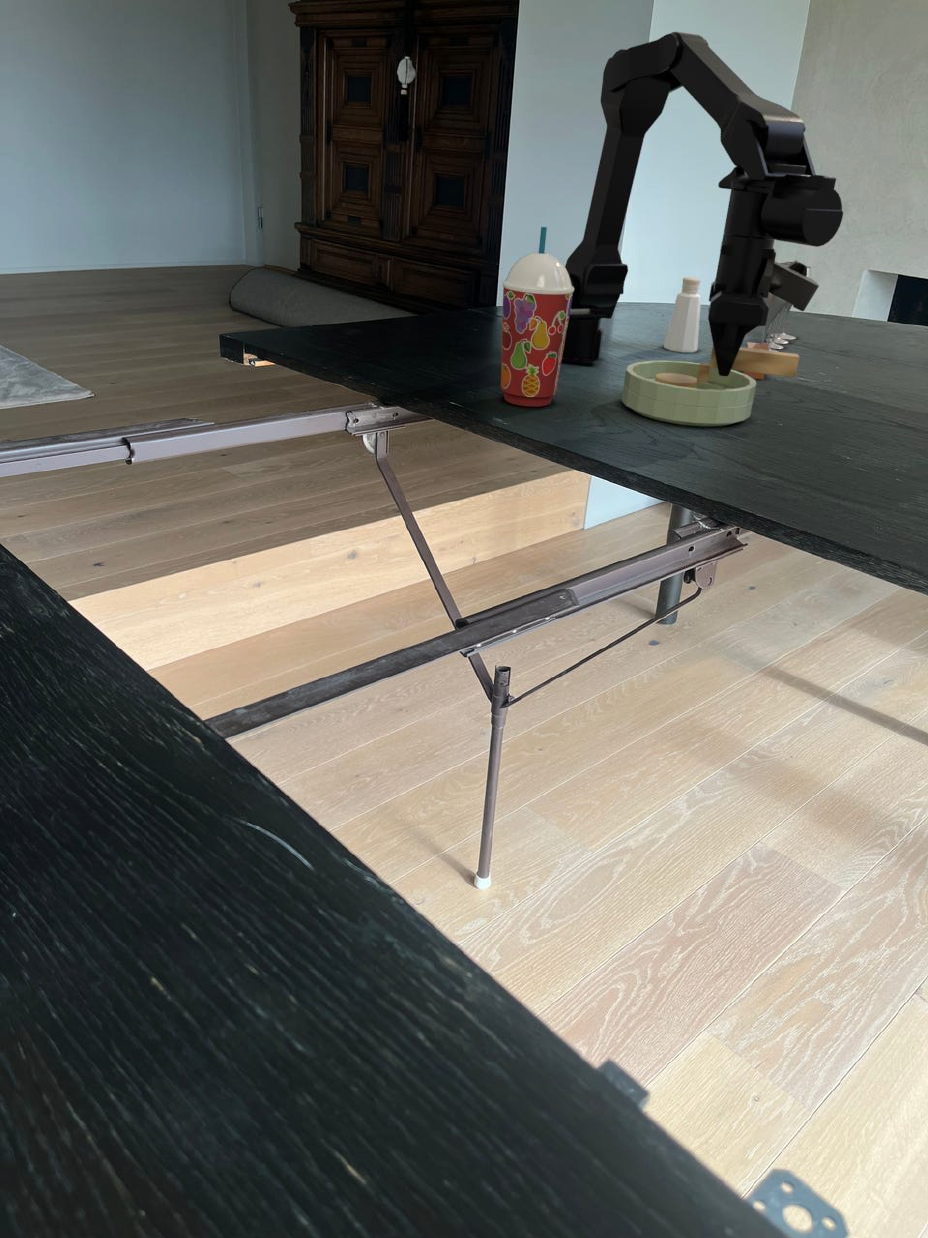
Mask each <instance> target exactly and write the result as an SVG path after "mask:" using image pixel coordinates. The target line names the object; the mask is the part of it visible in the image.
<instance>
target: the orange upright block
mask: <svg viewBox="0 0 928 1238" xmlns="http://www.w3.org/2000/svg"><path fill="white" fill-rule="evenodd" d="M745 348H749V349H758V350H766V351H769V349H770V348H769V347H768V344H761V343H760V342H750V341H747V342H746V346H745ZM741 373H743V374H746V375H748V376H750V377H751V378H753V379H754V380H761V381H764V379H765V374H763V373H754V372H746V371H741Z"/></svg>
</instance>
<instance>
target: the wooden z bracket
mask: <svg viewBox="0 0 928 1238" xmlns="http://www.w3.org/2000/svg"><path fill="white" fill-rule="evenodd" d="M799 361H800V355H799V353H793V352H792V353H791V352H782V351H779V352H775V351H766V350H758V349H749V348H746V347H740V349H739V351H738V354H737V356H736V359H735V361H734V364H733V366H732V368H731V370H734V371H738V372H742V371H746V372H754V373H763V374H764V375H770V376H771V375H772V376H781V377H789V378H796V374H797V369H798V365H799ZM699 363H700V366H699V372H698V377H697V379H696V378H694V377H691V376H688V375H683V374H675V373H661V374H657V375H656V377H655V381H657V382H660V383H665V384H670V385H675V386H681V387H690V388H697V387H698V381H699V382H707V379H708V374H709V369H710V367H713V368H718V367H717V361H716V356H715V351H714V346H713V345H712V347H711V353H710V358H709V363H704V362H699Z"/></svg>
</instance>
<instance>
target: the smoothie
mask: <svg viewBox="0 0 928 1238" xmlns="http://www.w3.org/2000/svg"><path fill="white" fill-rule="evenodd" d="M547 229H548V227H547V226H541V227H540V235H539V244H538V245H539V246H538V251H536V252H531V253H529V254H526V255H524V256H523V257H521V258H519V259H518V260H517V261H516V262H515V263H514V264H513V265H512V267H511V268H510V270H509V272H508V274H507V277H506V278H505V280H503V281H502V287H503V289H502V321H501V323H502V325H501V329H502V330H501V331H502V334H501V369H500V390H501V391H502V392H503V394H504V395H503V396H504V400H505V401H506V402H507V403H509V404H511V405H513V406H514V405H515V406H518V407H525V408H540V407H545V406H548V405H550V404H551V402H552V398H553V396H555V395H556V394H557V390H558V389H557V388H558V383H559V380H560V379H559V378H560V374H561V373H560V371H561V366H562V362H561V361H562V355H563V349H564V343H565V338H566V332H567V326H568V320H569V314H570V308H571V302H572V296H573V292H574V287H573V286H572V285H571V281H570V277H569V274H568V272H567V270H566V268H565V265H564V264H563V262H562V261H561V260H559V258H557V257H556V256H554V255H552V254H550V253H548V252H545V251H546V242H547V241H546V240H547V231H548V230H547Z"/></svg>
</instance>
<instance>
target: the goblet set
mask: <svg viewBox="0 0 928 1238" xmlns="http://www.w3.org/2000/svg"><path fill="white" fill-rule="evenodd" d="M793 262H794V261H784V262H779V263H780V264H783V265H785V266H786V267H787V266H789V265H790V264H791V263H793ZM801 263H802V264H804V263H803V262H801ZM806 266H807V265H806ZM807 277H808V278H811V279H812V280H813V273H812V267H811V266H807ZM764 300H765V301H766V303H767V304H768V307H769V311H768V316H767V321H766V326H762V327H763V329H762V337H761V344H768V347H769V351H775V352H780V351H779V350H783V349H784V346H782V345H787V344H789V343H790V342H789V340H791V341H793V340H796V338H797V337H796V336H793V335H791V334H790V335H789V334H786V333H785V331H786V326H787V322H788V317H789V315H790V311H791V309H792V307H793V305H792V304H791V303H789V302H787V301H785V300H783V299H781V298H779V297H777V296H775V295H773V294H771V293H769V294H768V298H764ZM783 321H784V322H783ZM778 324H779V326H778ZM773 327H774V329H773ZM777 329H778V330H777ZM781 330H782V331H781ZM772 331H773V332H772ZM776 332H777V333H776ZM766 336H767V337H766ZM765 341H766V342H765Z"/></svg>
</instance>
